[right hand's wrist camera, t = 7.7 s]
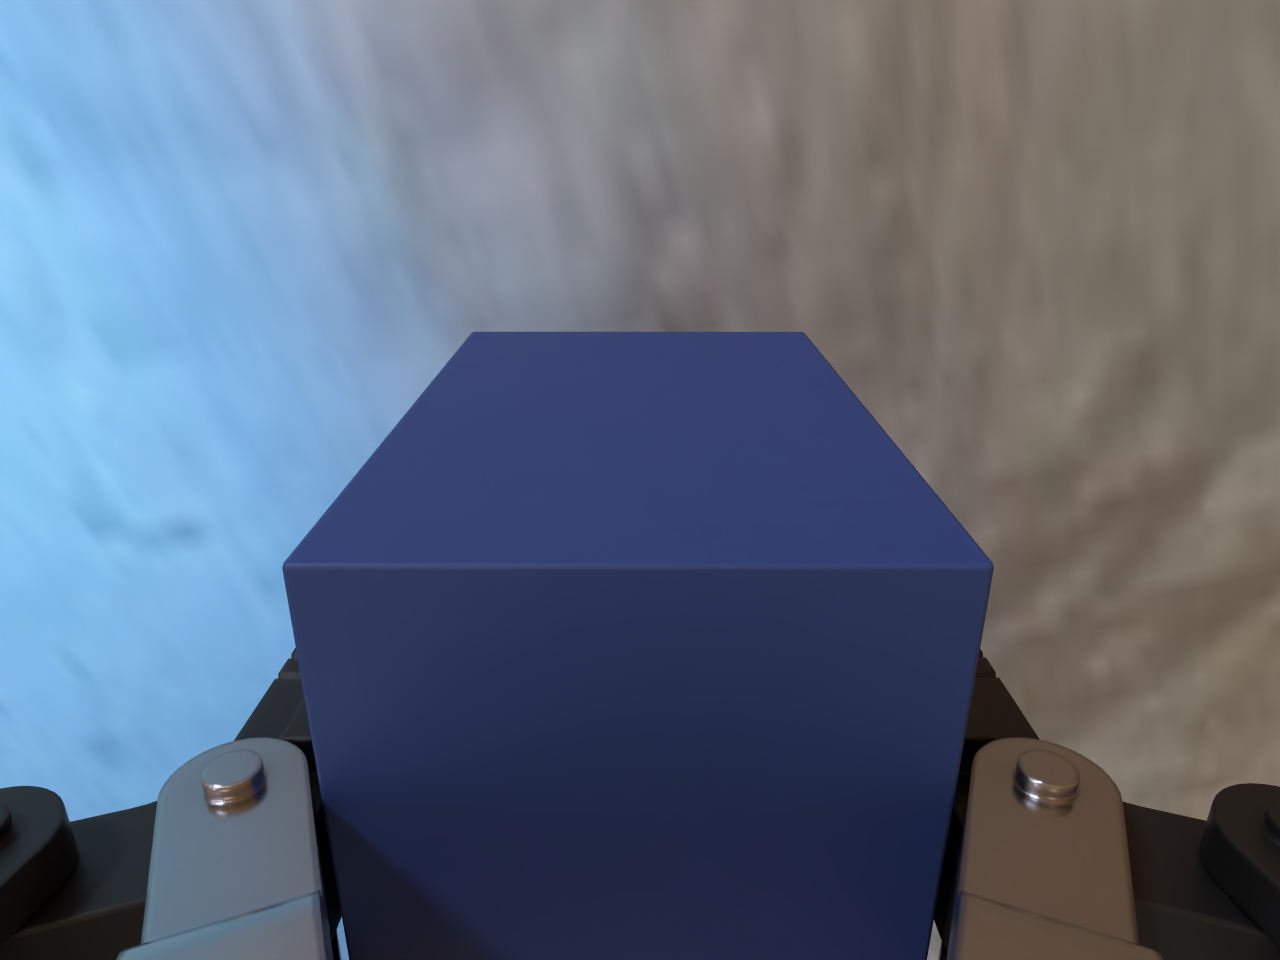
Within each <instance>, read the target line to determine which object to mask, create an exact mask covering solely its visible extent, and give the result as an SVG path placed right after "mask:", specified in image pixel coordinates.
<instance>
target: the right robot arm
mask: <svg viewBox="0 0 1280 960" xmlns="http://www.w3.org/2000/svg"><path fill="white" fill-rule="evenodd" d="M341 916H342V914H341V908H340V902H339V896H338V890H337V884H336V879H335V873H334V867H333V861H332V855H331V849H330V843H329V838H328V832H327V826H326V820H325V814H324V808H323V802H322V797H321V791H320V785H319V779H318V773H317V767H316V762H315V756H314V750H313V744H312V738H311V732H310V726H309V721H308V715H307V709H306V703H305V697H304V691H303V685H302V680H301V674H300V668H299V662H298V656H297V650H296V648H295V650H294V651H293V653H292V658H291V659H288V660H287V662H286V663H285V665H284V666H283V668H282V669H281V671H280V672H279V677H278V679H275V680H274V681H273V683H272V684H271V686H270V687H269V689H268V690H267V692H266V693H265V695H264V696H263V698H262V699H261V701H260V702H259V704H258V705H257V707H256V708H255V710H254V711H253V713H252V714H251V716H250V717H249V719H248V720H247V722H246V724H245V725H244V727H243V728H242V730H241V731H240V733H239V734H238V736H237V737H236V739H235V740H234V741H233V742H229V743H225V744H222V745H219V746H217V747H214V748H212V749H209V750H207V751H205V752H203V753H201V754H199V755H197V756H196V757H194V758H192V759H191V760H189V761H188V762H186V763H185V764H184V765H182V766H181V767H180V768H178V769H177V770H176V771H175V772H174V773H173V774H172V775H171V776H170V777H169V779H168V780H167V781H166V783H165V784H164V785H163V787H162V789H161V791H160V793H159V797H158V801H155V802H152V803H150V804H147V805H143V806H139V807H135V808H131V809H127V810H122V811H118V812H113V813H109V814H104V815H100V816H95V817H91V818H86V819H82V820H77V821H72V822H69V819H68V815H67V812H66V809H65V806H64V803H63V801H62V799H61V798H60V797H59V796H58V795H57V794H56V793H55V792H53V791H50V790H48V789H45V788H41V787H34V786H17V787H8V788H2V789H0V960H342V957H341V951H340V946H339V940H338V934H337V927H338V924H339V922H340V919H341ZM934 921H935V924H936V926H937V929H938V932H939V935H940V937H941V945H940V951H939V957H938V960H1280V787H1278V786H1273V785H1266V784H1253V783H1248V784H1238V785H1233V786H1229V787H1227V788H1225V789H1223V790H1221V791H1220V792H1219V793H1218V794H1217V795H1216V796H1215V798H1214V800H1213V803H1212V806H1211V809H1210V812H1209V816H1208V819H1207V821H1204V820H1200V819H1195V818H1191V817H1186V816H1182V815H1177V814H1172V813H1168V812H1163V811H1159V810H1154V809H1150V808H1145V807H1141V806H1137V805H1133V804H1129V803H1126V802H1123V801H1122V797H1121V793H1120V791H1119V789H1118V787H1117V786H1116V784H1115V783H1114V781H1113V780H1112V779H1111V777H1110V776H1109V775H1108V774H1107V773H1106V772H1105V771H1104V770H1103V769H1101V768H1100V767H1099V766H1098V765H1096V764H1095V763H1094V762H1092V761H1091V760H1089V759H1088V758H1086V757H1084V756H1083V755H1081V754H1079V753H1077V752H1075V751H1073V750H1071V749H1068V748H1066V747H1063V746H1061V745H1058V744H1054V743H1051V742H1047V741H1043V740H1040V739H1039V738H1038V736H1037V735H1036V733H1035V732H1034V730H1033V729H1032V727H1031V726H1030V724H1029V723H1028V721H1027V720H1026V718H1025V717H1024V715H1023V713H1022V712H1021V710H1020V709H1019V707H1018V706H1017V704H1016V703H1015V701H1014V700H1013V698H1012V697H1011V695H1010V694H1009V692H1008V691H1007V689H1006V688H1005V686H1004V684H1003V683H1002V681H1001V680H1000V678H996V672H995V671H994V669H993V668H992V666H991V665H990V663H989V662H988V660H987V658H983V652H982V651H981V649H980V651H979V657H978V663H977V668H976V674H975V680H974V686H973V692H972V698H971V704H970V709H969V715H968V721H967V727H966V733H965V739H964V745H963V750H962V756H961V762H960V768H959V774H958V780H957V785H956V791H955V797H954V803H953V809H952V815H951V821H950V826H949V832H948V838H947V844H946V850H945V856H944V862H943V867H942V873H941V879H940V885H939V891H938V897H937V903H936V908H935V914H934Z"/></svg>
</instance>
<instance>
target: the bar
mask: <svg viewBox="0 0 1280 960" xmlns="http://www.w3.org/2000/svg"><path fill="white" fill-rule="evenodd" d="M993 568H994V567H993V563H992V562H991V560H990V559H989V558H988V557H987V555H986V554H985V553H984V552H983V551H982V549H981V548H980V547H979V546H978V545H977V543H976V542H975V541H974V540H973V538H972V537H971V536H970V535H969V534H968V532H967V531H966V530H965V529H964V527H963V526H962V525H961V524H960V523H959V521H958V520H957V519H956V518H955V516H954V515H953V514H952V513H951V512H950V510H949V509H948V508H947V507H946V505H945V504H944V503H943V502H942V501H941V499H940V498H939V497H938V496H937V494H936V493H935V492H934V491H933V490H932V488H931V487H930V486H929V485H928V483H927V482H926V481H925V480H924V479H923V477H922V476H921V475H920V474H919V472H918V471H917V470H916V469H915V468H914V466H913V465H912V464H911V463H910V461H909V460H908V459H907V458H906V457H905V455H904V454H903V453H902V452H901V450H900V449H899V448H898V447H897V446H896V444H895V443H894V442H893V441H892V439H891V438H890V437H889V436H888V435H887V433H886V432H885V431H884V430H883V429H882V427H881V426H880V425H879V424H878V422H877V421H876V420H875V419H874V418H873V416H872V415H871V414H870V413H869V411H868V410H867V409H866V408H865V407H864V405H863V404H862V403H861V402H860V400H859V399H858V398H857V397H856V396H855V394H854V393H853V392H852V391H851V389H850V388H849V387H848V386H847V385H846V383H845V382H844V381H843V380H842V378H841V377H840V376H839V375H838V374H837V372H836V371H835V370H834V369H833V367H832V366H831V365H830V364H829V363H828V361H827V360H826V359H825V358H824V356H823V355H822V354H821V353H820V352H819V350H818V349H817V348H816V347H815V345H814V344H813V343H812V342H811V341H810V339H809V338H808V337H807V336H806V334H805V333H803V332H473V333H471V335H470V336H469V337H468V338H467V339H466V341H465V342H464V343H463V344H462V346H461V347H460V348H459V349H458V350H457V352H456V353H455V354H454V355H453V357H452V358H451V359H450V360H449V361H448V363H447V364H446V365H445V366H444V368H443V369H442V370H441V371H440V372H439V374H438V375H437V376H436V377H435V379H434V380H433V381H432V382H431V383H430V385H429V386H428V387H427V388H426V390H425V391H424V392H423V393H422V394H421V396H420V397H419V398H418V399H417V401H416V402H415V403H414V404H413V405H412V407H411V408H410V409H409V410H408V412H407V413H406V414H405V415H404V416H403V418H402V419H401V420H400V421H399V423H398V424H397V425H396V426H395V427H394V429H393V430H392V431H391V432H390V434H389V435H388V436H387V437H386V438H385V440H384V441H383V442H382V443H381V445H380V446H379V447H378V448H377V449H376V451H375V452H374V453H373V454H372V456H371V457H370V458H369V459H368V460H367V462H366V463H365V464H364V465H363V467H362V468H361V469H360V470H359V471H358V473H357V474H356V475H355V476H354V478H353V479H352V480H351V481H350V482H349V484H348V485H347V486H346V487H345V489H344V490H343V491H342V492H341V493H340V495H339V496H338V497H337V498H336V500H335V501H334V502H333V503H332V504H331V506H330V507H329V508H328V509H327V511H326V512H325V513H324V514H323V516H322V517H321V518H320V519H319V520H318V522H317V523H316V524H315V525H314V527H313V528H312V529H311V530H310V531H309V533H308V534H307V535H306V536H305V538H304V539H303V540H302V541H301V542H300V544H299V545H298V546H297V547H296V549H295V550H294V551H293V552H292V553H291V555H290V556H289V557H288V558H287V560H286V561H285V562H284V564H283V574H284V580H285V586H286V592H287V598H288V604H289V609H290V615H291V621H292V627H293V633H294V639H295V645H296V650H297V656H298V662H299V668H300V674H301V680H302V685H303V691H304V697H305V703H306V709H307V715H308V721H309V726H310V732H311V738H312V744H313V750H314V756H315V762H316V767H317V773H318V779H319V785H320V791H321V797H322V802H323V808H324V814H325V820H326V826H327V832H328V838H329V843H330V849H331V855H332V861H333V867H334V873H335V879H336V884H337V890H338V896H339V902H340V908H341V914H342V919H343V925H344V931H345V937H346V943H347V949H348V955H349V960H927V955H928V949H929V944H930V938H931V932H932V926H933V920H934V914H935V908H936V903H937V897H938V891H939V885H940V879H941V873H942V867H943V862H944V856H945V850H946V844H947V838H948V832H949V826H950V821H951V815H952V809H953V803H954V797H955V791H956V785H957V780H958V774H959V768H960V762H961V756H962V750H963V745H964V739H965V733H966V727H967V721H968V715H969V709H970V704H971V698H972V692H973V686H974V680H975V674H976V668H977V663H978V657H979V651H980V645H981V639H982V633H983V627H984V622H985V616H986V610H987V604H988V598H989V592H990V586H991V581H992V575H993Z"/></svg>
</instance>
